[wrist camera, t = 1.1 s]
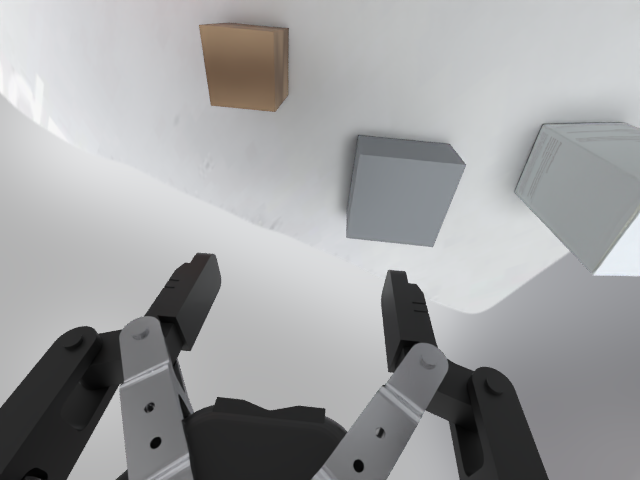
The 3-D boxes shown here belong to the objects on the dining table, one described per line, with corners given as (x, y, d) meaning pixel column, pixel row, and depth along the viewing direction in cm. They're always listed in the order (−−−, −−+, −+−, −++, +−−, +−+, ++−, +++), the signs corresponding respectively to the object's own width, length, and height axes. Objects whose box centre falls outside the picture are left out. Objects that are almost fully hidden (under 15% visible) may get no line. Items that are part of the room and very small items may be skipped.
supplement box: (511, 193, 31) (587, 277, 21) (541, 121, 27) (656, 185, 17) (585, 194, 31) (699, 281, 21) (628, 121, 26) (801, 187, 16)
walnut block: (228, 22, 24) (199, 24, 19) (288, 28, 24) (273, 31, 19) (235, 89, 27) (211, 105, 22) (288, 94, 27) (275, 111, 22)
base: (358, 135, 29) (359, 154, 25) (450, 144, 29) (466, 164, 25) (346, 212, 34) (346, 237, 30) (423, 220, 34) (432, 247, 30)
